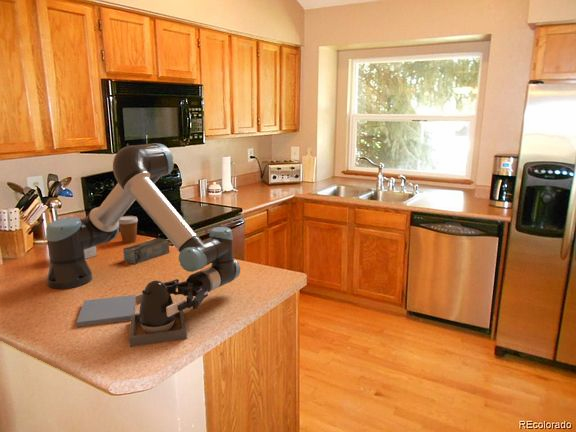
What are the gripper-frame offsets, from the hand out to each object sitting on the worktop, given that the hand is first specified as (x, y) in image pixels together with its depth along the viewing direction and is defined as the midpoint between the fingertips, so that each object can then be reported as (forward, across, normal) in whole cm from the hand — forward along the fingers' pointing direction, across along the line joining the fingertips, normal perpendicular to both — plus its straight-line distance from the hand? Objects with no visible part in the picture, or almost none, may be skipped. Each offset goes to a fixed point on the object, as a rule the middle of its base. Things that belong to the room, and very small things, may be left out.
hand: (150, 306), depth 123 cm
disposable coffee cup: (-56, +82, -9) cm, 99 cm away
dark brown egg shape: (-2, 0, -9) cm, 9 cm away
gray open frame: (-2, 0, -8) cm, 9 cm away
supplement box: (-30, +80, -9) cm, 86 cm away
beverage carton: (-45, +56, -9) cm, 73 cm away
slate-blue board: (-2, +23, -8) cm, 24 cm away
